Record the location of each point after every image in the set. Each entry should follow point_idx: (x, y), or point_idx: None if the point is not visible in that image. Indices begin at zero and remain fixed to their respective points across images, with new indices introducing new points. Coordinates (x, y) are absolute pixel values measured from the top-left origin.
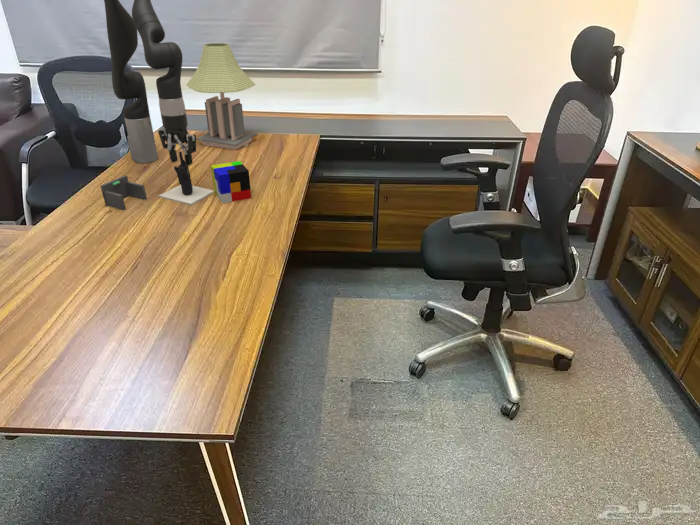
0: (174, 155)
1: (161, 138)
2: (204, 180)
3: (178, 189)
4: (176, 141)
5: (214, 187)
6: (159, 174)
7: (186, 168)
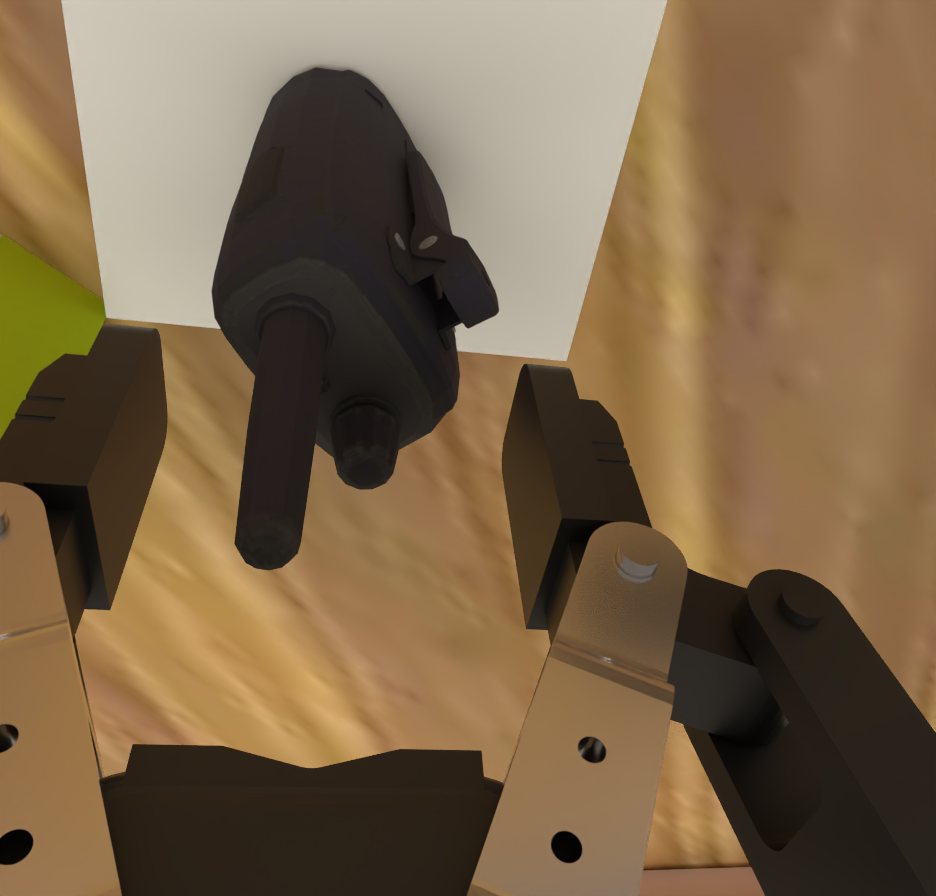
0: (524, 497)
1: None
2: (424, 495)
3: (529, 206)
4: (253, 846)
5: (67, 330)
6: (918, 463)
7: (215, 308)
